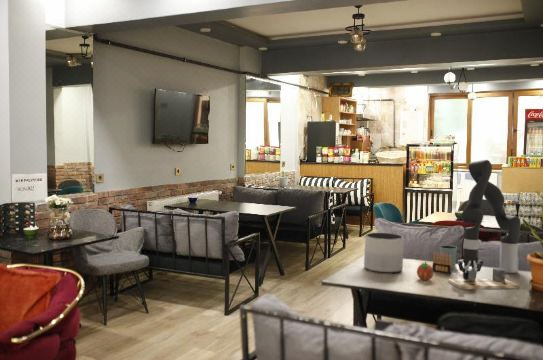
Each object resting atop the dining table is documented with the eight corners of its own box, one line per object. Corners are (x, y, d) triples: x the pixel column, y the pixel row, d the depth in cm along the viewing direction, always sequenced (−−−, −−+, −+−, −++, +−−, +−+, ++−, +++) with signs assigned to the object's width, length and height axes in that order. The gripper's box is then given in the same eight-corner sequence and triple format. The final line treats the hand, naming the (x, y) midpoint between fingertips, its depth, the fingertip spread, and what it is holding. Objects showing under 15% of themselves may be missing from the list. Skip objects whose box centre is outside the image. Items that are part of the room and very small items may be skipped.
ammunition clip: (451, 273, 300) (452, 253, 299) (450, 274, 298) (451, 253, 297) (432, 270, 306) (433, 250, 305) (431, 271, 304) (432, 251, 303)
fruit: (434, 278, 287) (434, 261, 287) (431, 283, 279) (432, 264, 278) (418, 277, 291) (418, 259, 290) (415, 281, 282) (416, 262, 281)
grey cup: (457, 265, 321) (457, 246, 320) (455, 268, 311) (456, 249, 311) (439, 263, 325) (440, 244, 324) (437, 266, 316) (438, 247, 315)
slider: (470, 279, 280) (471, 268, 280) (478, 283, 272) (479, 272, 272) (463, 279, 280) (464, 268, 279) (471, 283, 272) (471, 272, 271)
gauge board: (503, 280, 286) (504, 266, 285) (518, 288, 272) (519, 273, 271) (448, 282, 281) (448, 267, 281) (461, 289, 267) (461, 274, 267)
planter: (409, 269, 307) (410, 236, 306) (390, 276, 291) (392, 240, 289) (376, 263, 322) (377, 231, 320) (356, 269, 305) (357, 235, 304)
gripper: (479, 245, 281) (478, 277, 282) (454, 246, 279) (453, 277, 280) (487, 248, 273) (485, 280, 275) (461, 249, 271) (460, 281, 273)
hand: (469, 279), depth 277 cm, fingers closed on slider, 4 cm apart
